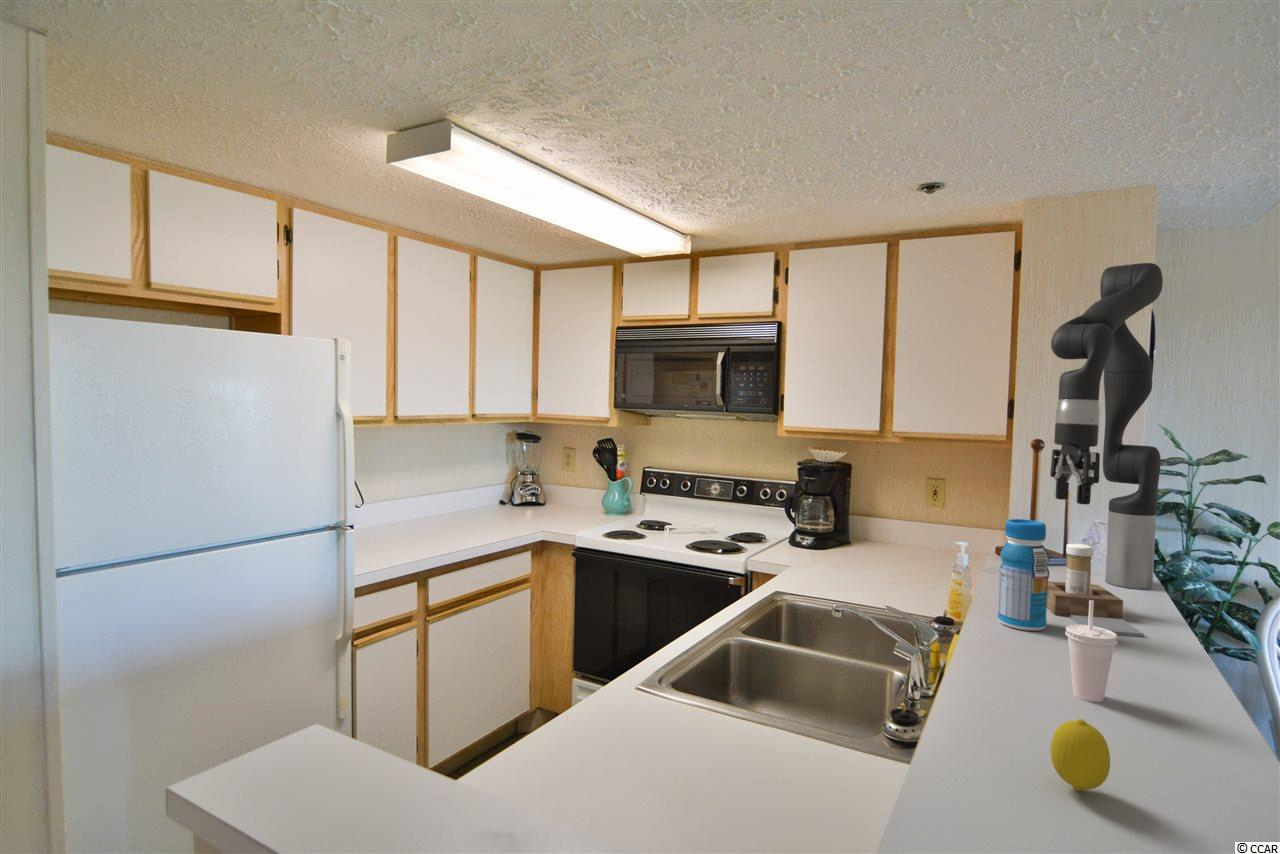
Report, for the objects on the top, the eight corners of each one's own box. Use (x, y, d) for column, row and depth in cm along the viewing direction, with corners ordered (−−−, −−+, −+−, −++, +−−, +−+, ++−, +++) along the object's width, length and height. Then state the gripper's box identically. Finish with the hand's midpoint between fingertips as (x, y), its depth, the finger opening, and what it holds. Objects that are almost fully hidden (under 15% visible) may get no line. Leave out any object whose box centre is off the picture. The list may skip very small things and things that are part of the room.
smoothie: (1107, 691, 103) (1111, 598, 102) (1121, 709, 97) (1125, 610, 96) (1057, 684, 105) (1061, 593, 104) (1068, 702, 99) (1073, 605, 98)
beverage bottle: (999, 628, 131) (1003, 523, 130) (994, 615, 138) (998, 516, 138) (1050, 634, 127) (1055, 527, 127) (1043, 621, 135) (1047, 520, 134)
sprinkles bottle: (1093, 610, 143) (1096, 546, 143) (1083, 613, 141) (1086, 548, 140) (1070, 604, 147) (1073, 542, 146) (1059, 607, 145) (1062, 544, 144)
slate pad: (1070, 617, 138) (1070, 614, 138) (1121, 621, 136) (1121, 618, 136) (1088, 632, 129) (1088, 629, 129) (1143, 637, 127) (1143, 633, 127)
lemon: (1038, 778, 78) (1040, 708, 78) (1083, 776, 79) (1086, 707, 79) (1072, 806, 73) (1075, 732, 73) (1121, 804, 73) (1124, 731, 73)
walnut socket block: (1035, 598, 151) (1036, 580, 151) (1097, 603, 148) (1097, 584, 148) (1054, 615, 139) (1055, 595, 139) (1122, 620, 137) (1123, 600, 136)
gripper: (1116, 423, 133) (1111, 507, 133) (1078, 423, 147) (1073, 498, 148) (1075, 421, 134) (1070, 504, 134) (1041, 421, 148) (1036, 496, 148)
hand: (1071, 501), depth 141 cm, fingers open, 8 cm apart
